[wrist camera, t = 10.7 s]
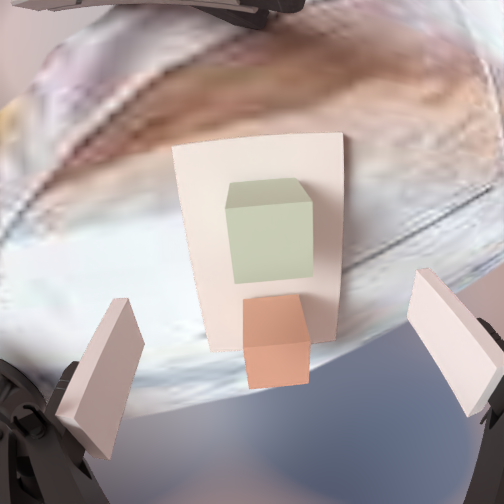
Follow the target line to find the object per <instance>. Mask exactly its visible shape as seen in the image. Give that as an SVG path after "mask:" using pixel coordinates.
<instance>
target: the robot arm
mask: <svg viewBox="0 0 504 504" xmlns="http://www.w3.org/2000/svg"><path fill="white" fill-rule="evenodd" d="M407 319H408V320H409V322H410V323H411V325H412V326H413V328H414V329H415V331H416V332H417V334H418V335H419V337H420V338H421V340H422V341H423V343H424V345H425V346H426V348H427V349H428V351H429V352H430V354H431V356H432V357H433V359H434V360H435V362H436V364H437V365H438V367H439V369H440V370H441V372H442V374H443V375H444V377H445V379H446V380H447V382H448V384H449V386H450V387H451V389H452V391H453V393H454V394H455V396H456V398H457V400H458V401H459V403H460V405H461V407H462V408H463V410H464V412H465V414H466V416H467V417H469V416H471V415H473V414H476V413H478V412H480V411H481V410H482V409H483V408H484V406H485V405H486V403H487V402H489V404H490V405H491V407H490V408H489V410H488V411H487V413H486V414H485V416H484V417H483V418H482V420H481V422H480V424H483V422H484V421H485V420H486V418H487V420H486V424H485V429H484V434H483V439H482V443H481V447H480V451H479V455H478V459H477V462H476V466H475V469H474V473H473V476H472V480H471V482H470V486H469V489H468V491H467V494H466V497H465V500H464V503H463V504H504V341H503V340H501V337H500V336H499V335H498V333H496V331H495V330H494V329H493V328H492V326H491V325H490V324H489V323H487V322H486V321H484V320H483V319H481V318H475V317H474V316H473V315H472V313H471V312H470V311H469V310H468V309H467V308H466V307H465V305H464V304H463V303H462V302H461V301H460V300H459V299H458V298H457V296H456V295H455V294H454V293H453V292H452V291H451V290H450V289H449V288H448V287H447V286H446V285H445V284H444V283H443V281H442V280H441V279H440V278H439V277H438V276H437V275H436V274H435V273H434V272H433V271H432V270H431V269H430V268H425V269H418V270H416V274H415V279H414V284H413V289H412V294H411V299H410V304H409V308H408V313H407ZM144 345H145V343H144V341H143V338H142V335H141V333H140V330H139V327H138V325H137V322H136V319H135V316H134V313H133V310H132V308H131V305H130V302H129V299H128V298H117V299H113V300H112V302H111V304H110V306H109V307H108V309H107V311H106V313H105V315H104V316H103V318H102V320H101V322H100V324H99V326H98V327H97V329H96V331H95V333H94V335H93V337H92V339H91V341H90V343H89V345H88V346H87V348H86V350H85V352H84V354H83V356H82V358H81V360H80V362H77V361H73V362H72V363H71V364H70V365H69V366H68V367H67V368H66V369H65V370H64V372H63V374H62V376H61V378H60V381H59V382H58V384H57V386H56V389H55V390H54V392H53V394H52V396H51V398H50V401H49V403H48V405H47V407H46V403H45V400H44V398H43V397H42V395H41V393H40V392H39V391H38V389H37V388H36V387H35V386H34V385H33V384H32V383H31V382H30V381H29V380H28V379H27V378H26V377H25V376H24V375H23V374H22V373H20V372H19V371H18V370H17V369H15V368H14V367H12V366H11V365H9V364H8V363H6V362H4V361H2V360H0V504H110V503H109V501H108V499H107V498H106V496H105V495H104V493H103V491H102V489H101V487H100V486H99V484H98V482H97V480H96V478H95V476H94V475H93V473H92V471H91V469H90V467H89V465H88V463H87V461H86V460H85V458H84V457H83V456H84V453H85V450H86V451H87V452H88V453H89V454H90V455H91V456H92V457H94V458H99V459H104V460H110V459H111V455H112V451H113V447H114V443H115V440H116V436H117V432H118V429H119V425H120V422H121V418H122V415H123V411H124V408H125V405H126V401H127V398H128V395H129V391H130V388H131V385H132V382H133V378H134V375H135V372H136V369H137V366H138V363H139V360H140V357H141V354H142V351H143V348H144Z"/></svg>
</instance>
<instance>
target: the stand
mask: <svg viewBox="0 0 504 504" xmlns="http://www.w3.org/2000/svg"><path fill="white" fill-rule="evenodd" d="M172 153H173V160H174V167H175V173H176V180H177V186H178V193H179V199H180V205H181V211H182V216H183V222H184V228H185V233H186V239H187V244H188V249H189V255H190V260H191V265H192V270H193V275H194V280H195V285H196V289H197V294H198V299H199V304H200V308H201V313H202V317H203V322H204V326H205V330H206V335H207V339H208V343H209V347H210V352H225V351H241V350H243V352H244V358H245V365H246V372H247V378H248V384H249V389H257V388H269V387H280V386H290V385H298V384H307V383H308V382H309V364H310V344H314V343H322V342H329V341H336V332H337V321H338V310H339V298H340V284H341V268H342V248H343V218H344V152H343V133H342V132H302V133H283V134H267V135H254V136H243V137H233V138H224V139H215V140H207V141H199V142H192V143H184V144H178V145H174V146H172ZM294 177H295V178H296V179H297V180H298V182H299V183H300V184H301V186H302V187H303V189H304V190H305V191H306V193H307V194H308V196H309V197H310V199H311V200H312V201H313V277H307V278H297V279H287V280H276V281H265V282H253V283H242V284H235V283H234V275H233V268H232V260H231V253H230V245H229V237H228V229H227V221H226V213H225V206H226V200H227V195H228V190H229V185H230V183H234V182H244V181H255V180H267V179H280V178H294Z"/></svg>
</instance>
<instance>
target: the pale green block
mask: <svg viewBox="0 0 504 504" xmlns="http://www.w3.org/2000/svg"><path fill="white" fill-rule="evenodd" d="M225 213H226V221H227V229H228V237H229V245H230V253H231V260H232V268H233V275H234V283H235V284H242V283H253V282H265V281H276V280H287V279H297V278H307V277H313V201H312V200H311V199H310V197H309V196H308V194H307V193H306V191H305V190H304V189H303V187H302V186H301V184H300V183H299V182H298V180H297V179H296V178H295V177H294V178H280V179H267V180H255V181H244V182H234V183H230V185H229V190H228V195H227V200H226V206H225Z"/></svg>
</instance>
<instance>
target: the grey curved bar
mask: <svg viewBox="0 0 504 504" xmlns="http://www.w3.org/2000/svg"><path fill="white" fill-rule="evenodd" d="M143 3H152V4H181V5H190V6H193V7H195V8H198V9H200V10H202V11H205V12H207V13H209V14H212V15H214V16H216V17H218V18H221V19H223V20H225V21H227V22H229V23H231V24H233V25H237V26H243V27H248V28H253V29H260V28H263V27H264V25H265V22H266V20H267V17H268V14H269V10H272V11H277V12H282V13H295V12H299V11H301V10H302V9H303V6H304V4H305V0H11V4H12V6H17V7H22V8H28V9H32V10H37V11H41V10H46V9H48V10H50V11H60V10H65V9H73V8H81V7H88V6H99V5H114V4H143Z"/></svg>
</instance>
